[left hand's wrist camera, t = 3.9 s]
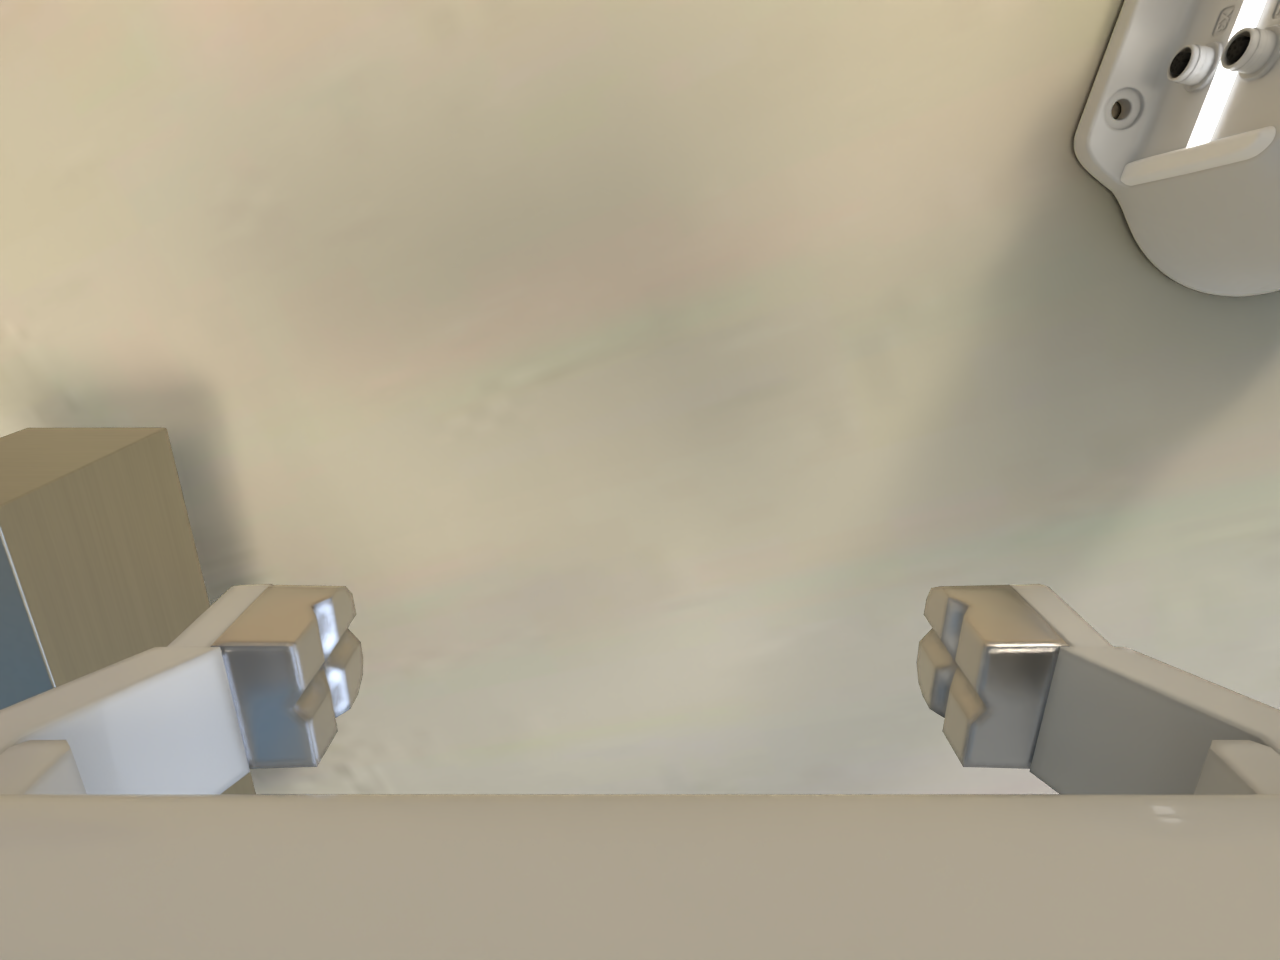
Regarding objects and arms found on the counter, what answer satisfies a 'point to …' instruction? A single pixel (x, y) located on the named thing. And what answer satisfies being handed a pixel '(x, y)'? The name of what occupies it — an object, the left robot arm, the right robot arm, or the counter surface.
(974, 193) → the counter surface
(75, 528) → the box
